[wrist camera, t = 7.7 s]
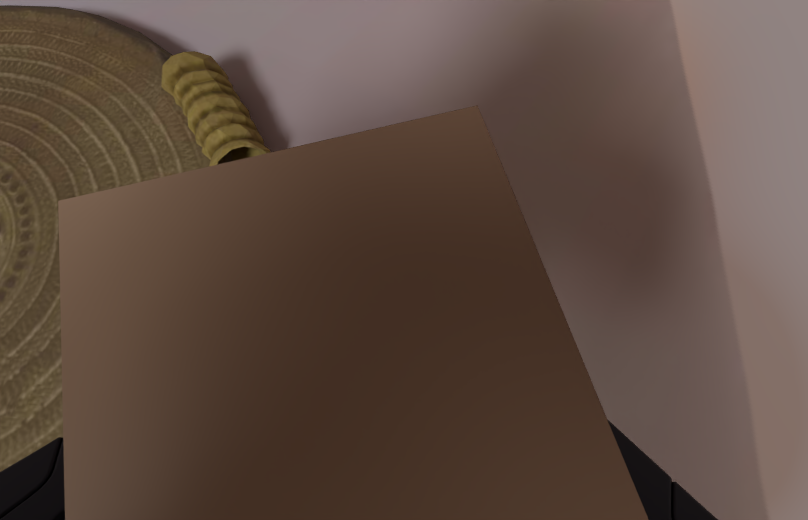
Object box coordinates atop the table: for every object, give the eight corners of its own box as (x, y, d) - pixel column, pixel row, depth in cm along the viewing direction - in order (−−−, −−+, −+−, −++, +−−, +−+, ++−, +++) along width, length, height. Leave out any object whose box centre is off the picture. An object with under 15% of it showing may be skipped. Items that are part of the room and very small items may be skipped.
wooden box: (467, 473, 14) (857, 953, 2) (349, 513, 13) (49, 1384, 2) (418, 311, 15) (491, 102, 4) (312, 341, 15) (41, 205, 3)
